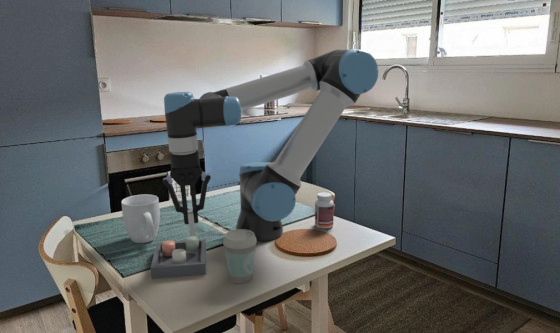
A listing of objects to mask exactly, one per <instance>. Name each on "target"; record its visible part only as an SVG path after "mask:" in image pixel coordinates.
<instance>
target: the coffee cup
mask: <svg viewBox="0 0 560 333" xmlns="http://www.w3.org/2000/svg"><path fill="white" fill-rule="evenodd" d="M257 242H258V241H257V240H256V237H255V234H254V232H252V231H250V230H246V229H236V228H235V229H232V230H230V231H227V232H226V233H225V234H224V237H223V241H222V244H223V246H224V250H225V257H226V262H227V263H226V264H227V269H228V275H229V280H230V281H231V282H232V283H235V284H245V283H248V282H250V281H251V280H252V279H253V272H254V265H255V264H254V262H255V254H256V253H255V252H256V244H257Z"/></svg>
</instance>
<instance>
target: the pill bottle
mask: <svg viewBox="0 0 560 333" xmlns="http://www.w3.org/2000/svg"><path fill="white" fill-rule="evenodd" d="M332 197H333V196H332V193H331V192H325V191H322V192H319V193H317V195H316V198H317V199H316V200H315V203H314V225H315V227H316V228H319V229H326V230H327V229H330V228H333V226H334V218H335V217H334V212H335V211H334V210H335V209H334V207H335V206H334V205H335V204H334V201H333V200H332Z"/></svg>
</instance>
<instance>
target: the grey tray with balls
mask: <svg viewBox="0 0 560 333" xmlns="http://www.w3.org/2000/svg"><path fill="white" fill-rule="evenodd" d="M198 240H199V250H198V251H195V252H188V251H186V240H175V241H174V240H173V241H174V242H175V250H176V249H184V250H185V251H186V263H182V264H173V259H172V256H168V257H167V256H163V255H162V243H163V242H164V241H163V242H161V241H160V242H156V245H155V249H154V254H153V257H152V259H151V260H152V261H151V264H150V278H151V279H165V278H175V277H176V278H177V277H187V276H199V275H200V276H201V275H207V239H198Z"/></svg>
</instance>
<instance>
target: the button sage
mask: <svg viewBox="0 0 560 333" xmlns="http://www.w3.org/2000/svg"><path fill="white" fill-rule="evenodd" d="M199 240H200V239H199V237H198V236H190V235H189V236H187V237H185V240H184V241H186V251H188V252H195V251H198V250H199Z"/></svg>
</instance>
